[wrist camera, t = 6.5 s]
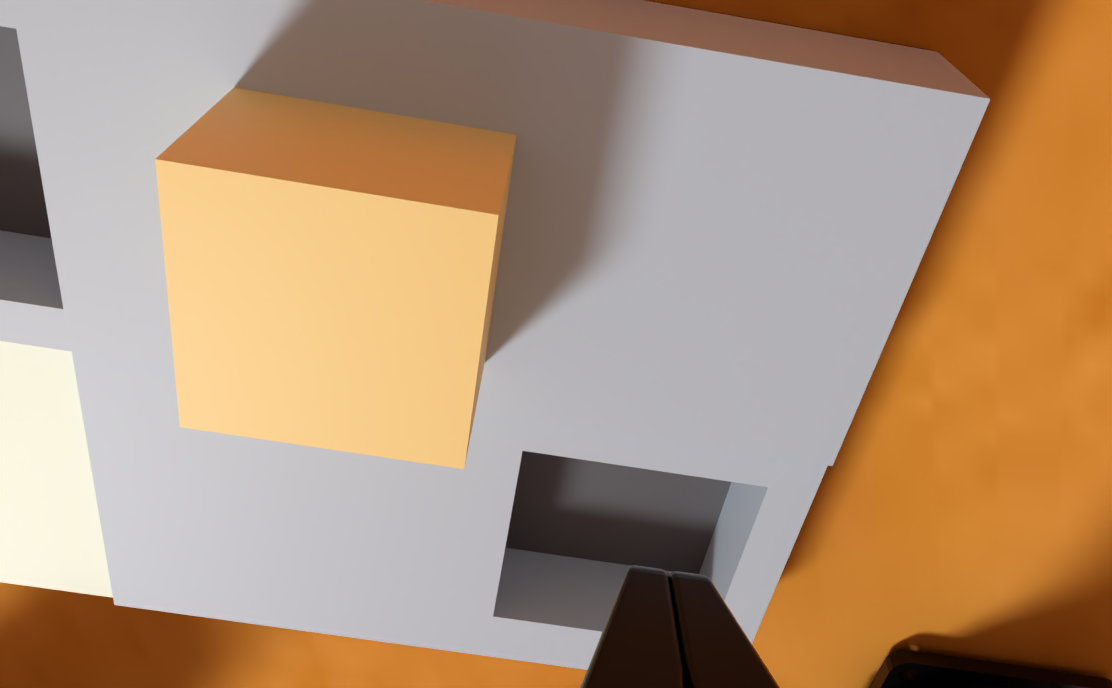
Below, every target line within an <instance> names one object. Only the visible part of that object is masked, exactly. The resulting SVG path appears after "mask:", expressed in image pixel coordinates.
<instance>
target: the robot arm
mask: <svg viewBox="0 0 1112 688" xmlns="http://www.w3.org/2000/svg"><path fill="white" fill-rule="evenodd" d="M581 688H779V686H778V684H777V683H776V681H775V680H774V678H773V677H772V675H771V674H770V672H769V670H768V669H767V667H766V666H765V664H764V663H763V661H762V659H761V658H760V656H759V655H758V653H757V652H756V650H755V649H754V647H753V645H752V644H751V642H750V641H749V639H748V638H747V636H746V634H745V633H744V631H743V630H742V628H741V627H740V625H739V624H738V622H737V620H736V619H735V617H734V616H733V614H732V613H731V611H730V610H729V608H728V606H727V605H726V603H725V602H724V600H723V599H722V597H721V595H720V594H719V592H718V591H717V589H716V588H715V586H714V585H713V583H712V582H711V580H710V579H709V578H707V577H706V576H704V575H700V574H693V573H686V572H679V571H672V572H670V573H668V575H667V573H666V572H665V571H664V570H663V569H658V568H651V567H644V566H637V565H632V566H630V567H629V568H628V569H627V571H626V573H625V576H624V578H623V581H622V583H621V586H620V588H619V591H618V593H617V596H616V599H615V601H614V604H613V606H612V609H611V611H610V614H609V616H608V619H607V621H606V624H605V627H604V629H603V632H602V634H601V637H600V639H599V642H598V644H597V647H596V650H595V652H594V655H593V657H592V660H591V662H590V665H589V667H588V670H587V672H586V675H585V678H584V680H583V683H582V685H581ZM870 688H1112V681H1111V680H1109V679H1106V678H1100V677H1093V676H1086V675H1079V674H1072V673H1064V672H1057V671H1050V670H1043V669H1036V668H1029V667H1022V666H1015V665H1008V664H1000V663H993V662H986V661H979V660H972V659H965V658H958V657H951V656H944V655H936V654H929V653H922V652H915V651H899V652H895V653H893V654H891V655H889V656H888V657H887V659H886V660H885V661H884V663H883V665H882V667H881V668H880V670H879V672H878V674H877V676H876V677H875V679H874V681H873V683H872V684H871V686H870Z"/></svg>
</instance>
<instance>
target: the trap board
mask: <svg viewBox="0 0 1112 688" xmlns="http://www.w3.org/2000/svg"><path fill="white" fill-rule="evenodd" d="M233 88H240V89H246V90H252V91H258V92H264V93H270V94H276V95H282V96H288V97H294V98H300V99H306V100H312V101H318V102H324V103H330V104H336V105H342V106H348V107H354V108H360V109H365V110H371V111H377V112H383V113H389V114H395V115H401V116H407V117H413V118H419V119H425V120H431V121H437V122H443V123H449V124H455V125H461V126H467V127H473V128H479V129H485V130H491V131H497V132H503V133H509V134H515V135H516V142H515V149H514V157H513V164H512V171H511V178H510V185H509V192H508V200H507V207H506V214H505V221H504V228H503V235H502V243H501V250H500V257H499V264H498V271H497V278H496V286H495V293H494V300H493V307H492V314H491V321H490V329H489V336H488V343H487V350H486V357H485V364H484V369H483V374H482V380H481V385H480V390H479V395H478V401H477V406H476V411H475V416H474V421H473V427H472V432H471V437H470V442H469V447H468V453H467V458H466V463H465V468H464V469H459V468H452V467H445V466H439V465H432V464H425V463H418V462H412V461H405V460H398V459H391V458H385V457H378V456H371V455H364V454H358V453H351V452H344V451H337V450H331V449H324V448H317V447H310V446H304V445H297V444H290V443H283V442H277V441H270V440H263V439H256V438H250V437H243V436H236V435H229V434H223V433H216V432H209V431H202V430H195V429H189V428H182V427H180V424H179V413H178V402H177V391H176V381H175V370H174V359H173V348H172V337H171V326H170V315H169V304H168V294H167V283H166V272H165V261H164V250H163V239H162V228H161V218H160V207H159V196H158V185H157V174H156V163H155V159H156V158H157V157H158V156H159V155H160V154H161V153H162V152H164V151H165V150H166V149H167V148H168V147H169V146H170V145H171V144H172V143H173V142H174V141H176V140H177V139H178V138H179V137H180V136H181V135H182V134H183V133H184V132H185V131H187V130H188V129H189V128H190V127H191V126H192V125H193V124H194V123H195V122H196V121H198V120H199V119H200V118H201V117H202V116H203V115H204V114H205V113H206V112H207V111H209V110H210V109H211V108H212V107H213V106H214V105H215V104H216V103H217V102H218V101H220V100H221V99H222V98H223V97H224V96H225V95H226V94H227V93H228V92H229V91H231V90H232V89H233ZM989 102H990V98H989V97H988V96H987V95H986V94H985V93H983V92H982V91H981V90H980V89H979V88H978V87H977V86H976V85H975V84H973V83H972V82H971V81H970V80H969V79H968V78H967V77H966V76H964V75H963V74H962V73H961V72H960V71H959V70H958V69H957V68H955V67H954V66H953V65H952V64H951V63H950V62H949V61H948V60H946V59H945V58H944V57H943V56H942V55H941V54H940V53H939V52H936V51H930V50H925V49H919V48H913V47H908V46H902V45H896V44H890V43H885V42H879V41H873V40H868V39H862V38H856V37H851V36H845V35H839V34H833V33H828V32H822V31H816V30H811V29H805V28H799V27H793V26H788V25H782V24H776V23H771V22H765V21H759V20H754V19H748V18H742V17H736V16H731V15H725V14H719V13H714V12H708V11H702V10H696V9H691V8H685V7H679V6H674V5H668V4H662V3H657V2H651V1H645V0H0V582H3V583H10V584H17V585H25V586H32V587H39V588H46V589H54V590H61V591H68V592H76V593H83V594H90V595H97V596H105V597H112V598H113V601H114V605H118V606H126V607H133V608H140V609H148V610H155V611H162V612H170V613H177V614H184V615H191V616H199V617H206V618H213V619H221V620H228V621H235V622H242V623H250V624H257V625H264V626H272V627H279V628H286V629H294V630H301V631H308V632H315V633H323V634H330V635H337V636H345V637H352V638H359V639H367V640H374V641H381V642H388V643H396V644H403V645H410V646H418V647H425V648H432V649H439V650H447V651H454V652H461V653H469V654H476V655H483V656H491V657H498V658H505V659H512V660H520V661H527V662H534V663H542V664H549V665H556V666H564V667H571V668H578V669H585V670H588V667H589V665H590V662H591V660H592V657H593V655H594V652H595V650H596V647H597V644H598V642H599V639H600V637H601V634H602V632H603V629H604V627H605V624H606V621H607V619H608V616H609V614H610V611H611V609H612V606H613V604H614V601H615V599H616V596H617V593H618V591H619V588H620V586H621V583H622V581H623V578H624V576H625V573H626V571H627V569H628V568H629V567H630V566H632V565H637V566H644V567H651V568H658V569H663V570H664V571H665V572H666V573H667V575H668V573H670V572H672V571H679V572H686V573H693V574H700V575H704V576H706V577H707V578H709V579H710V580H711V582H712V583H713V585H714V586H715V588H716V589H717V591H718V592H719V594H720V595H721V597H722V599H723V600H724V602H725V603H726V605H727V606H728V608H729V610H730V611H731V613H732V614H733V616H734V617H735V619H736V620H737V622H738V624H739V625H740V627H741V628H742V630H743V631H744V633H745V634H746V636H747V638H748V639H749V641H750V642H751V644H752V642H753V640H754V637H755V635H756V633H757V630H758V628H759V626H760V623H761V621H762V619H763V616H764V614H765V612H766V609H767V607H768V604H769V602H770V600H771V597H772V595H773V593H774V590H775V588H776V586H777V583H778V581H779V579H780V576H781V574H782V572H783V569H784V567H785V565H786V562H787V560H788V558H789V555H790V553H791V551H792V548H793V546H794V544H795V541H796V539H797V537H798V534H799V532H800V529H801V527H802V525H803V522H804V520H805V518H806V515H807V513H808V511H809V508H810V506H811V504H812V501H813V499H814V497H815V494H816V492H817V490H818V487H819V485H820V483H821V480H822V478H823V476H824V473H825V471H826V469H827V466H833V464H834V461H835V459H836V457H837V454H838V452H839V450H840V448H841V445H842V443H843V441H844V438H845V436H846V434H847V431H848V429H849V427H850V424H851V422H852V420H853V417H854V415H855V413H856V410H857V408H858V406H859V403H860V401H861V399H862V396H863V394H864V392H865V389H866V387H867V385H868V382H869V380H870V378H871V376H872V373H873V371H874V369H875V366H876V364H877V362H878V359H879V357H880V355H881V352H882V350H883V348H884V345H885V343H886V341H887V338H888V336H889V334H890V331H891V329H892V327H893V324H894V322H895V320H896V317H897V315H898V313H899V311H900V308H901V306H902V304H903V301H904V299H905V297H906V294H907V292H908V290H909V287H910V285H911V283H912V280H913V278H914V276H915V273H916V271H917V269H918V266H919V264H920V262H921V259H922V257H923V255H924V252H925V250H926V248H927V245H928V243H929V241H930V239H931V236H932V234H933V232H934V229H935V227H936V225H937V222H938V220H939V218H940V215H941V213H942V211H943V208H944V206H945V204H946V201H947V199H948V197H949V194H950V192H951V190H952V187H953V185H954V183H955V180H956V178H957V176H958V174H959V171H960V169H961V167H962V164H963V162H964V160H965V157H966V155H967V153H968V150H969V148H970V146H971V143H972V141H973V139H974V136H975V134H976V132H977V129H978V127H979V125H980V122H981V120H982V118H983V115H984V113H985V111H986V108H987V106H988V104H989Z"/></svg>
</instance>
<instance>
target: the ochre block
mask: <svg viewBox="0 0 1112 688" xmlns="http://www.w3.org/2000/svg"><path fill="white" fill-rule="evenodd" d="M515 142H516V135H515V134H509V133H503V132H497V131H491V130H485V129H479V128H473V127H467V126H461V125H455V124H449V123H443V122H437V121H431V120H425V119H419V118H413V117H407V116H401V115H395V114H389V113H383V112H377V111H371V110H365V109H360V108H354V107H348V106H342V105H336V104H330V103H324V102H318V101H312V100H306V99H300V98H294V97H288V96H282V95H276V94H270V93H264V92H258V91H252V90H246V89H240V88H233V89H232V90H231V91H229V92H228V93H227V94H226V95H225V96H224V97H223V98H222V99H221V100H220V101H218V102H217V103H216V104H215V105H214V106H213V107H212V108H211V109H210V110H209V111H207V112H206V113H205V114H204V115H203V116H202V117H201V118H200V119H199V120H198V121H196V122H195V123H194V124H193V125H192V126H191V127H190V128H189V129H188V130H187V131H185V132H184V133H183V134H182V135H181V136H180V137H179V138H178V139H177V140H176V141H174V142H173V143H172V144H171V145H170V146H169V147H168V148H167V149H166V150H165V151H164V152H162V153H161V154H160V155H159V156H158V157H157V158H156V159H155V163H156V174H157V185H158V196H159V207H160V218H161V228H162V239H163V250H164V261H165V272H166V283H167V294H168V304H169V315H170V326H171V337H172V348H173V359H174V370H175V381H176V391H177V402H178V413H179V424H180V427H182V428H189V429H195V430H202V431H209V432H216V433H223V434H229V435H236V436H243V437H250V438H256V439H263V440H270V441H277V442H283V443H290V444H297V445H304V446H310V447H317V448H324V449H331V450H337V451H344V452H351V453H358V454H364V455H371V456H378V457H385V458H391V459H398V460H405V461H412V462H418V463H425V464H432V465H439V466H445V467H452V468H459V469H464V468H465V463H466V458H467V453H468V447H469V442H470V437H471V432H472V427H473V421H474V416H475V411H476V406H477V401H478V395H479V390H480V385H481V380H482V374H483V369H484V364H485V357H486V350H487V343H488V336H489V329H490V321H491V314H492V307H493V300H494V293H495V286H496V278H497V271H498V264H499V257H500V250H501V243H502V235H503V228H504V221H505V214H506V207H507V200H508V192H509V185H510V178H511V171H512V164H513V157H514V149H515Z"/></svg>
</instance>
